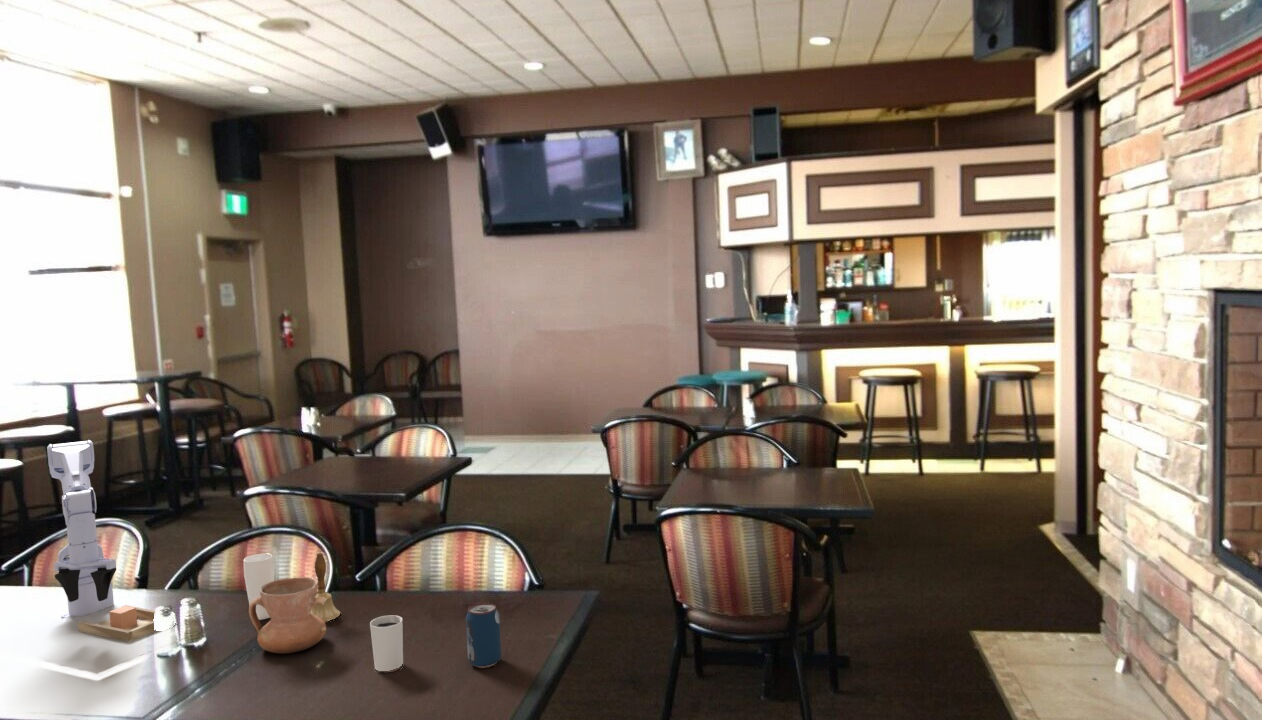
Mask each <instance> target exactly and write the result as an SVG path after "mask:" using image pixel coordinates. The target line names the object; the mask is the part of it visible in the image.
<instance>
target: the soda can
mask: <svg viewBox="0 0 1262 720" xmlns="http://www.w3.org/2000/svg"><path fill="white" fill-rule="evenodd" d="M465 625H466V645H467V646H466V647H467V660H468V662H469V663H471V664H472V665H475V666H487V665H491V664H494V663H496V662H498V661H499V662H500V660H501V658H502V647H501V646H502V645H501V643H502V641H501V640H502V639H501V627H500V626H501V625H500V613H499V611H498V610H497V606H496V604H495V603H494V604H493V603H491V602H481V603H476V604H473V605H470V606H469V607H468V610H467V613H466V617H465ZM499 662H498V663H499ZM471 664H470V665H471ZM472 665H471V666H472Z"/></svg>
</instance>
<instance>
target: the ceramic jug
mask: <svg viewBox="0 0 1262 720" xmlns="http://www.w3.org/2000/svg"><path fill="white" fill-rule="evenodd" d="M317 594H318V579H316V578H312V577H309V576H308V577H307V576H306V577H305V576H303V577H300V576H299V577H292V578H291V577H290V578H288V577H287V578H281V579H276V580H275V579H274V581H271V582H269V583H266V584H264V585H263V586H261V588H260V595H261V598H256V599H254V600H253V601H252V602H251V603H250V606H249V607H248V615H249V618H250V620H251V622H252V625H253V626H254V628H255V630H256V632H257V636H256V637H257V639H256V640H257V643H258V646H260V648H262V649H263V650H264V651H267V652H269V653H275V654H292V653H296V652H297V653H298V652H301V651H304V650H308V649H309V648H311V647H313V646H315V645H316V644H318V643H319V642H320V641H321V640H322V639H323V638H324V637H325V636H326V633H327V625H326V622H324V621H323V620H322V619H321V618H319V617H317V616H315V615H313V614H311V613H310V612H311V610H312V607H313V606H314V605H316V604H318V603H320V604H322V605H324V603H325V601H326V600H327V599H326V598H324V597H318V598H316V595H317ZM256 605H261V606H263V607H264V608H265V609H266V611H267V613H268V615H269V616H270V618H269V619H270V620H269V621H267V623H266V624H265V625H263V626H262V624H261V620H259V619H258V617H257V613H256Z"/></svg>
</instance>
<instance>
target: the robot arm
mask: <svg viewBox="0 0 1262 720" xmlns="http://www.w3.org/2000/svg"><path fill="white" fill-rule="evenodd" d="M46 448H47V449H46V450H47V451H46V452H47V459H48V460H47V461H48V467H49V468H48V469H49V474H50V476H51V478H53V479H57V480H59V481H60V482H61V488H62V489H61V490H62V494H63V495H62V496H61V505H62V514H63V516H64V521H65V526H66V533H67V545H65V546H64V547H63V548H62V549H60V550H59V551H58V555H57V559H58V560H57V562H54V563H53V569H54V572H57V573H55V574H54V578H55V579H56V580H57V581H58V582H59V584H60V586H61V588H62V589H63V590H64V594H65V595H66V598H67V605H68V606H67V607H68V613H66V614H63V615H61V616H60V618H61V619H65V618H68V617H71V616H72V617H81V616H89V615H91V614H94V613H98V612H99V611H101V610H103V609H104V610H105V609H106V608H109V607H112V606H114V603H115V601H114V590H113V584H112V579H113V577H114V576H115V574H116V571H117V559H116V558H105V555H104V552H103V547H102V546H101V545H100V544H99V543H98V533H97V524H96V523H97V522H96V513H97V499H96V492H95V491H94V487H93V486H92V483H91V479H90V476H89V475H90V474H92V473H93V472H94V469H95V448H94V443H93V441H92V440H90V439H88V440H83V441H74V442H65V443H64V442H63V443H55V444H52V443H49V444H48V446H47V447H46ZM93 511H94V512H93Z"/></svg>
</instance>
